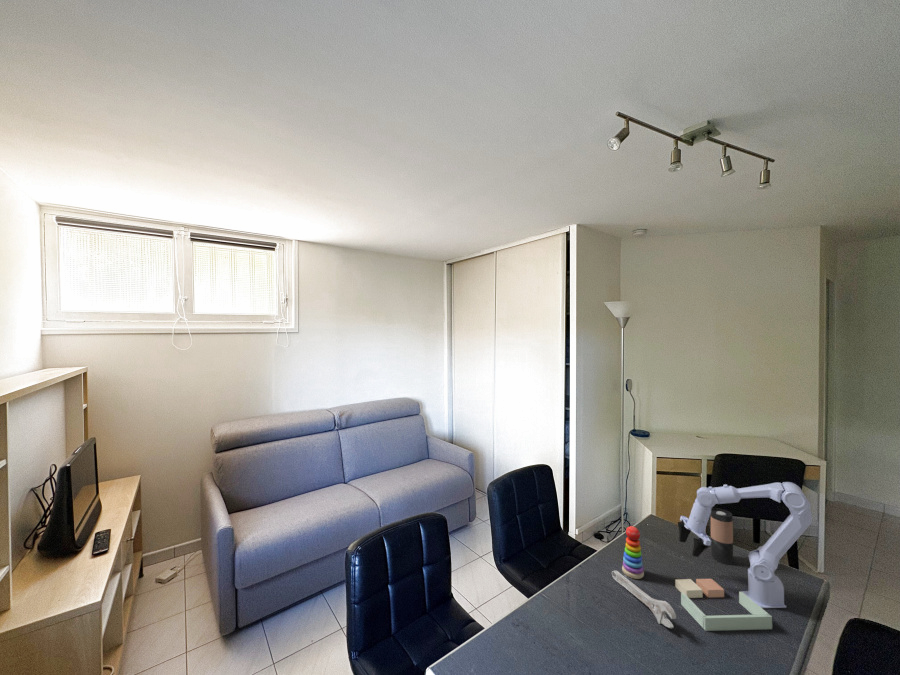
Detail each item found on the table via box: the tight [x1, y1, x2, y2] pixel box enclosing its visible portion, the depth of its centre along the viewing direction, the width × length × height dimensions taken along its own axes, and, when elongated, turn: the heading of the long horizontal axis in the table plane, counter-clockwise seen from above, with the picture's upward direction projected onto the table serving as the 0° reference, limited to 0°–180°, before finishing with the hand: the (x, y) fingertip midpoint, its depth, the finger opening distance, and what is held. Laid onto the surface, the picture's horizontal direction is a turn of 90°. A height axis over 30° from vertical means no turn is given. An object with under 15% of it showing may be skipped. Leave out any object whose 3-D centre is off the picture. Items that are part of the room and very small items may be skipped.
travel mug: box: [710, 507, 734, 565], centre depth 151 cm, size 8×8×20 cm
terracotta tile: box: [695, 578, 725, 598], centre depth 131 cm, size 6×6×3 cm
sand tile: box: [674, 578, 704, 599], centre depth 131 cm, size 6×6×3 cm
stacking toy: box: [621, 525, 645, 580], centre depth 142 cm, size 8×8×19 cm
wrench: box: [611, 570, 677, 629], centre depth 126 cm, size 8×2×30 cm
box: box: [680, 591, 773, 632], centre depth 119 cm, size 22×12×4 cm, turn 91°
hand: (688, 548), depth 140 cm, fingers open, 7 cm apart
